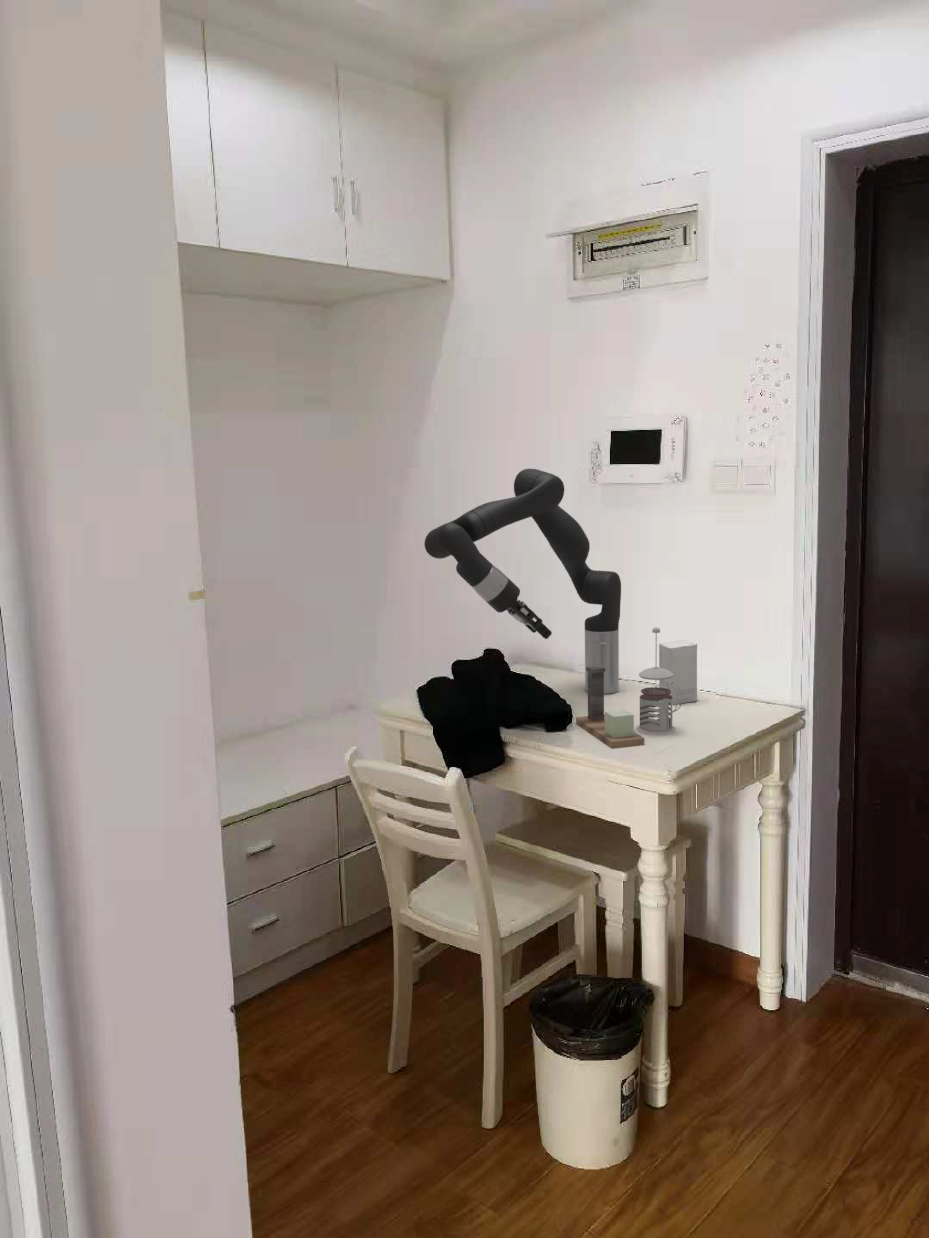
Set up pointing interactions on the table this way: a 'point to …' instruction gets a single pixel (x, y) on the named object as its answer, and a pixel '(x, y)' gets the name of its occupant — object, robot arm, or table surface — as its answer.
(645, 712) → the french press
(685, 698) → the skincare box
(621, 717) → the sage block
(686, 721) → the table surface
